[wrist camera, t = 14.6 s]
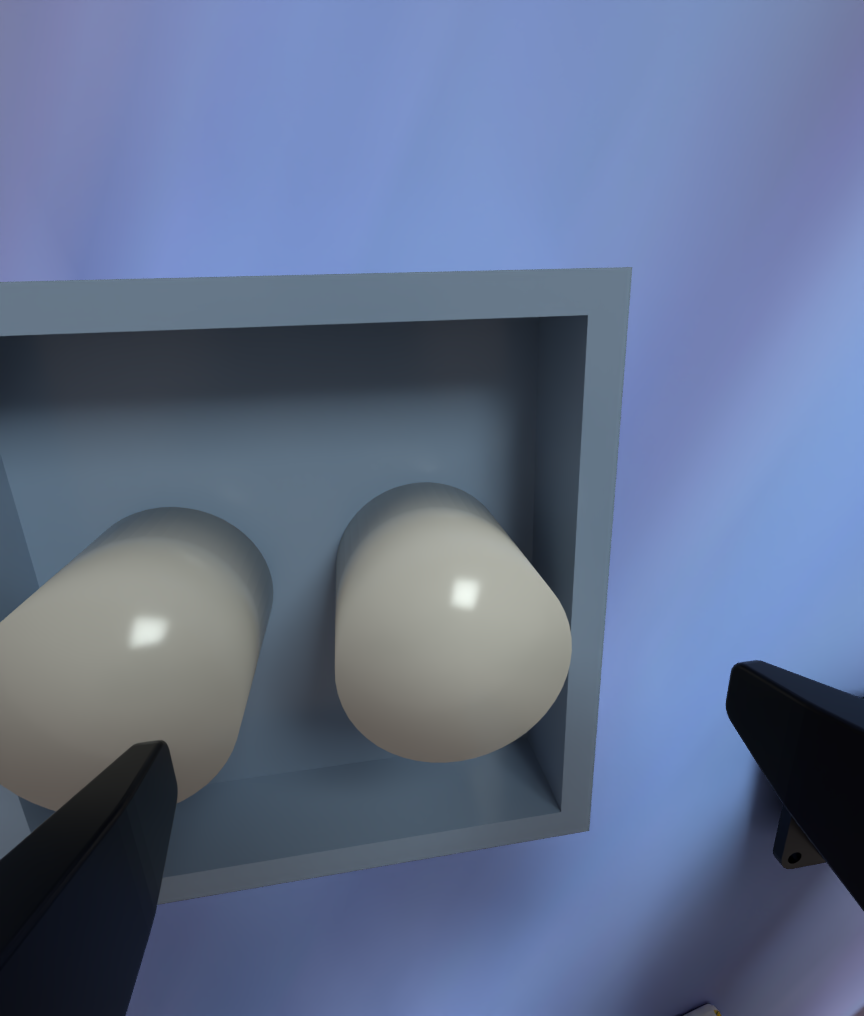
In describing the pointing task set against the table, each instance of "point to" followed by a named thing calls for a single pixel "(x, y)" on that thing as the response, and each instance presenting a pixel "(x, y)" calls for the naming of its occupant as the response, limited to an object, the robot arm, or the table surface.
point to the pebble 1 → (133, 654)
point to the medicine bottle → (704, 1011)
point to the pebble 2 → (442, 627)
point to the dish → (326, 517)
